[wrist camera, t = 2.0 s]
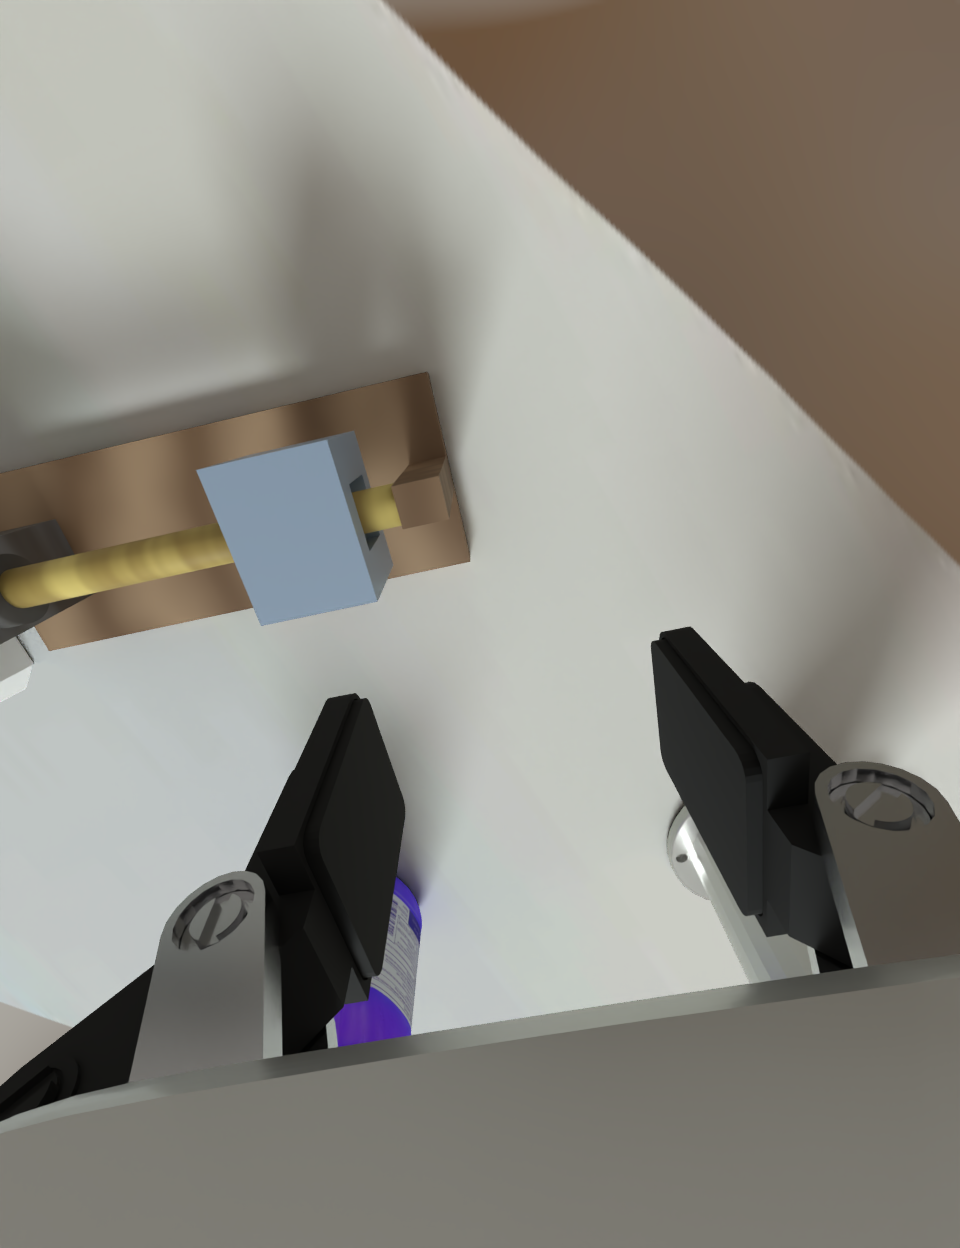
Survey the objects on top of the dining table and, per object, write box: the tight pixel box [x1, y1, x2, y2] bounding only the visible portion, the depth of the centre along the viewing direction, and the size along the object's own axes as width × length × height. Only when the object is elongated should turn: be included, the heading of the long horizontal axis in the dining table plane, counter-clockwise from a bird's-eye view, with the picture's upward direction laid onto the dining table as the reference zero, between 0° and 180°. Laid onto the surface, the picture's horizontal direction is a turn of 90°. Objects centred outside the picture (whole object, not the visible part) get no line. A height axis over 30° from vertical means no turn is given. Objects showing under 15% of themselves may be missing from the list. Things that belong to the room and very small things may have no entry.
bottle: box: [334, 877, 422, 1047], centre depth 35 cm, size 7×6×17 cm
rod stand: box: [0, 372, 470, 651], centre depth 26 cm, size 26×10×10 cm, turn 102°
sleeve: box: [196, 431, 393, 626], centre depth 23 cm, size 5×6×5 cm
